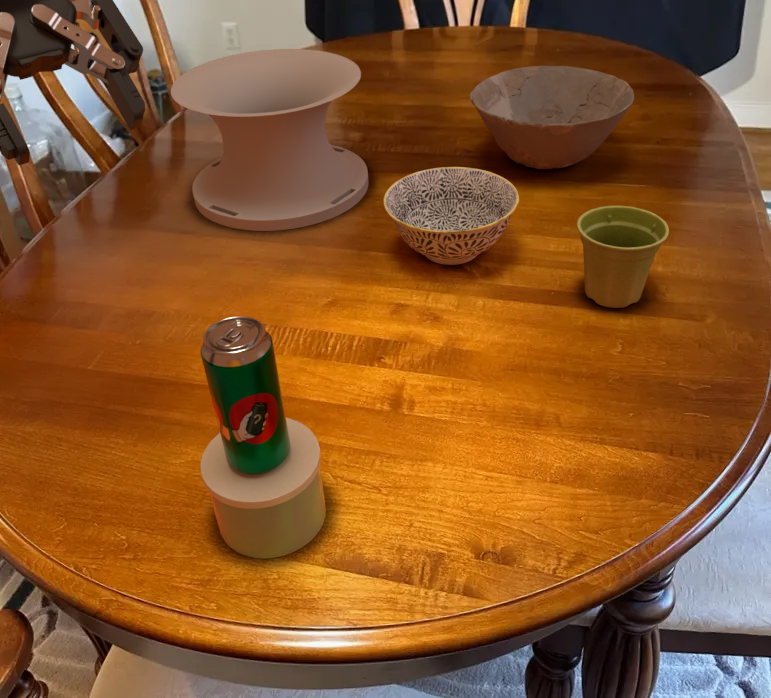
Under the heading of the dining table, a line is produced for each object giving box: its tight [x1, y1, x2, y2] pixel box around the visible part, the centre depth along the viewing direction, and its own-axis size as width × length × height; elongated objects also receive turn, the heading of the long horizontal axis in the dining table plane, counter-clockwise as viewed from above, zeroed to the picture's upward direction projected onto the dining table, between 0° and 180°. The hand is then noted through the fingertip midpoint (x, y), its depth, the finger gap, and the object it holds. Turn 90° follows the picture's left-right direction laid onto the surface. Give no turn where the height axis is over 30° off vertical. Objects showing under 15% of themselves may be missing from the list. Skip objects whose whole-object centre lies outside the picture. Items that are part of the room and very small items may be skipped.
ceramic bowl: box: [469, 65, 635, 170], centre depth 115 cm, size 22×23×10 cm
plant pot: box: [576, 205, 670, 309], centre depth 87 cm, size 9×9×9 cm
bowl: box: [382, 166, 520, 266], centre depth 97 cm, size 16×16×8 cm
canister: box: [199, 417, 327, 559], centre depth 65 cm, size 9×9×7 cm
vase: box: [170, 48, 370, 232], centre depth 110 cm, size 25×25×16 cm
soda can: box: [200, 315, 290, 475], centre depth 59 cm, size 5×5×12 cm
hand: (83, 140), depth 57 cm, fingers open, 8 cm apart
